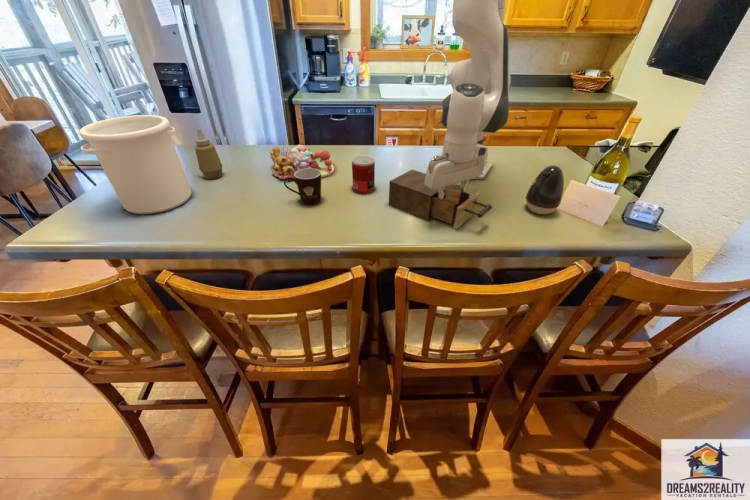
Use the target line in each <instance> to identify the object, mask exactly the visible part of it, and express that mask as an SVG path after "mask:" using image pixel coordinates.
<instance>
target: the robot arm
mask: <svg viewBox="0 0 750 500" xmlns="http://www.w3.org/2000/svg"><path fill="white" fill-rule="evenodd" d="M506 3H507V0H453V1H452V16H451V19H452V20H451V22H452V26H453V27H452V28H453V30H454V31H455V33H456V35H458V37H459V38H461V40H463V41H464V43H465V45H466V47H467V49H468V51H469V55H470V58H467V59H463V60H460V61H457V62H456V63H455V64H454V65H453V66H452V68H451V70H450V73H449V84H450V86H451V88H452V93H450V94H448V95H447V96H446V97H445V98H443V100H442V101H441V105H442V108H441V114H440V118H439V123H440V124H441V125H442V126H443V127H444V128H445V129H446V132H445V135H444V138H443V145H442V152H441V154H439V155H434V156H433V158H432V159H431V160H430V161H428V165H427V169H426V172H425V174H426V176H425V182H424V183H425V186H426V187H428V188H429V189H431V190H436V189H437V191H438V193H439V194H438V198H439V199H441V200H443V199H445V198H446V193H444V191H443V190H445V187H446V186H449V185H453V184H458V183H459V185H460V189H461V193H464V192H465V189H466V187H467V186H468V184H469V183H470V180H484V179H485V177H486V176H487V174H488V173H489V172H490V170H491V169H492V163H490V162H488V157H489V153H488V152H489V151H488V150H489V148H488V146H485V145H484V144H485V142H487V140H488V136H486V135H485V133H486V134H487V133H489V134H495V133H497V132H498V131H500V130H501V129H502V128H503V127H505V126H506V125H507V122H508V119H509V116H510V99H509V89H510V86H511V82H512V77H511V73H510V72H509V33H508V27H507V25H506V24H505V23H504V18H505V10H506Z"/></svg>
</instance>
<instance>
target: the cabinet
mask: <svg viewBox="0 0 750 500" xmlns="http://www.w3.org/2000/svg"><path fill="white" fill-rule="evenodd" d="M425 176H426V172H421V171H419V170H416V169H410V170H408V171H406V172H404V173H403V174H400V175H398V176H396V177H395V178H393V179H390V180H389V184H388V187H389V189H388V205H389V206H391V207H393V208H396V209H397V210H400V211H403V212H405V213H408V214H410V215H413V216H415V217H418V218H419V219H420V218H421V219H422V220H425V221H430V220H431V219H433V218H434V217H433V216H430V210H431V203H432V197H433V196H435V195H437V194H438V191H437V189H436V190H431V189H429V188H428V187H426V186H425V183H424V182H425Z"/></svg>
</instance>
